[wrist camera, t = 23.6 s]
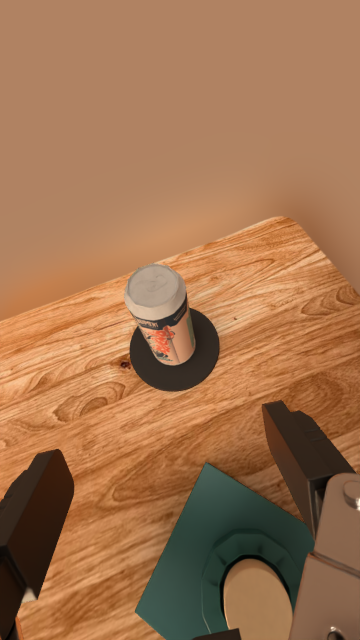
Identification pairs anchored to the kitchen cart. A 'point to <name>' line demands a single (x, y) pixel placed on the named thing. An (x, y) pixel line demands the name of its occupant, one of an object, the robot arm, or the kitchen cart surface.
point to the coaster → (183, 373)
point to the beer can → (161, 312)
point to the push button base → (219, 555)
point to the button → (257, 602)
